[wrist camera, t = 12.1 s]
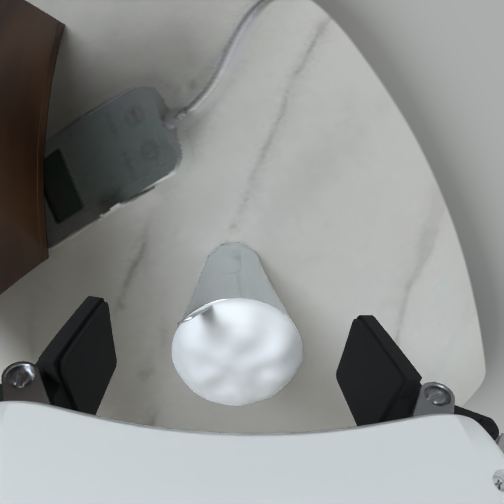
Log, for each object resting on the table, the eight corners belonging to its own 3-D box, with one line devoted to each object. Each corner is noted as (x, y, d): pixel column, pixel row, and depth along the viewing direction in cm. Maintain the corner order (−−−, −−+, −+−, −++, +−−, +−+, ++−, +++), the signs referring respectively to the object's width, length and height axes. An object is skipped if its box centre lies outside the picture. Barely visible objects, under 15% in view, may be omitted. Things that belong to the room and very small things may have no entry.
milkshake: (247, 204, 16) (272, 284, 7) (283, 284, 18) (331, 411, 9) (174, 238, 17) (115, 346, 7) (216, 313, 18) (209, 449, 9)
